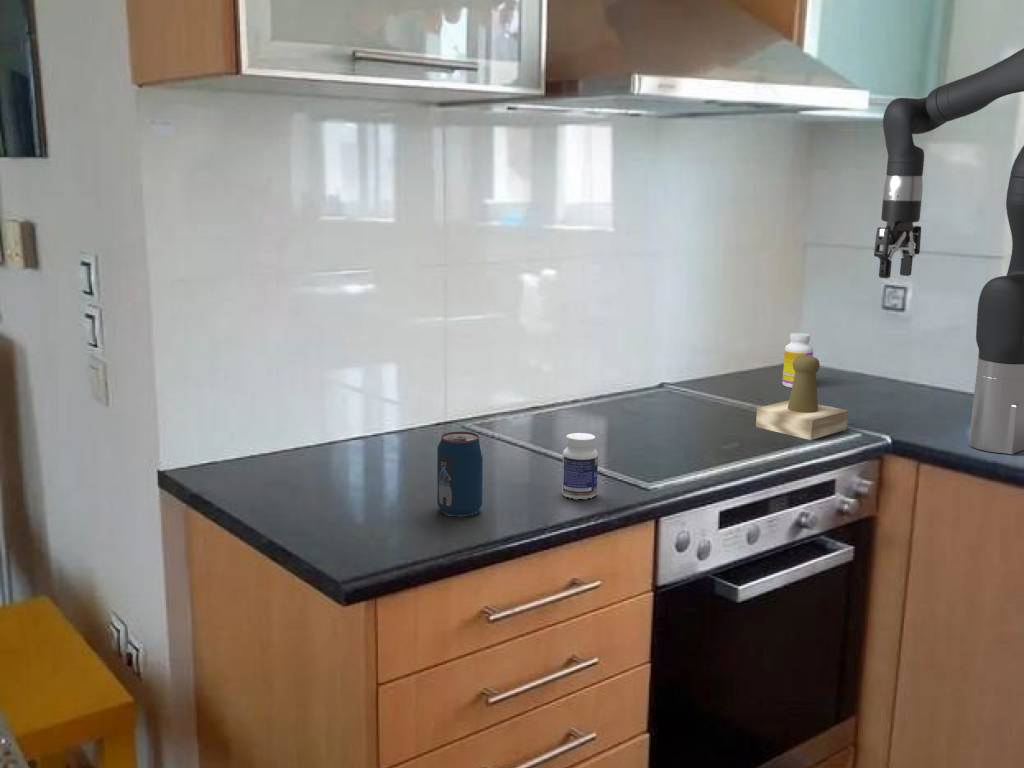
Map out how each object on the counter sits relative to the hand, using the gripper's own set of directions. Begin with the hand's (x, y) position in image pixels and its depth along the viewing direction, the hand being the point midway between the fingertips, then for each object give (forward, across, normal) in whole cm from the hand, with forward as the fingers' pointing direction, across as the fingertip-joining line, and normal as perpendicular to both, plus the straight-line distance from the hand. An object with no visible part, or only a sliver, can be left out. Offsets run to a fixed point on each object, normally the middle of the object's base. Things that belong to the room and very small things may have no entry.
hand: (895, 276), depth 218 cm
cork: (+26, -23, +5) cm, 35 cm away
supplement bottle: (+30, +11, +29) cm, 43 cm away
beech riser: (+30, -23, +5) cm, 38 cm away
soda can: (+30, -109, +9) cm, 113 cm away
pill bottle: (+30, -89, +3) cm, 94 cm away
